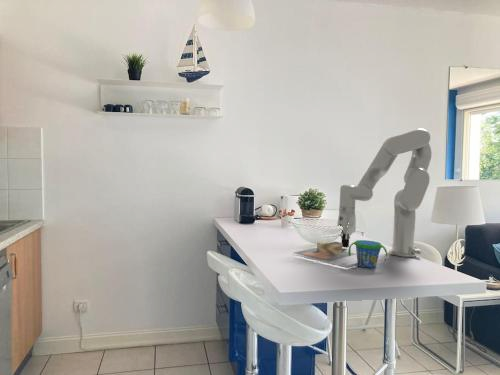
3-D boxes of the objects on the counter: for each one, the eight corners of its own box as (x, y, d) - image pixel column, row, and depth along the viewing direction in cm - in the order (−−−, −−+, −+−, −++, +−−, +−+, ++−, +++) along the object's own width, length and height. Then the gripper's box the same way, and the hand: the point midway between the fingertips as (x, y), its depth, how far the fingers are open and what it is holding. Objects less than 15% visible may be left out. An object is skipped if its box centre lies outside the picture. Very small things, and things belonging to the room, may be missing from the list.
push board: (357, 255, 188) (357, 254, 188) (329, 263, 172) (329, 261, 172) (321, 248, 203) (321, 246, 203) (292, 254, 186) (292, 252, 186)
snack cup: (388, 266, 170) (390, 242, 169) (383, 272, 161) (384, 247, 160) (351, 261, 178) (353, 238, 177) (344, 266, 168) (346, 241, 168)
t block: (348, 252, 191) (348, 244, 191) (336, 255, 184) (337, 246, 184) (328, 248, 199) (329, 240, 199) (316, 250, 192) (317, 242, 192)
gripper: (345, 211, 190) (343, 250, 191) (361, 210, 201) (359, 246, 202) (331, 210, 196) (330, 247, 197) (348, 208, 206) (346, 243, 207)
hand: (345, 246), depth 199 cm, fingers closed
